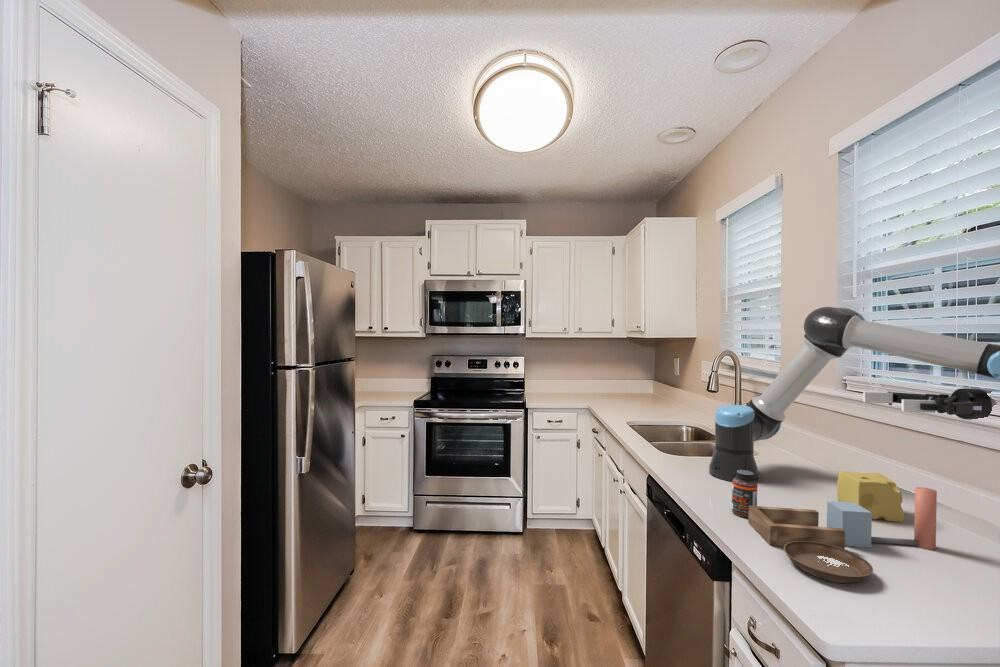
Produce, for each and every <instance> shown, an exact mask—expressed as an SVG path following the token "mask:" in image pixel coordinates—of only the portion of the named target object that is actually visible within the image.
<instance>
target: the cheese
mask: <svg viewBox="0 0 1000 667" xmlns="http://www.w3.org/2000/svg"><path fill="white" fill-rule="evenodd" d="M836 481H837V482H836V484H837V485H836V494H837V502H851V503H856V504H858V505H859V506H861V507H863V508H864V509H866V510H868V511H870V512H871V513H872V520H878V519H881V520H885V521H887V522H895V523H903V521H904V518H905V513H904V509H903V507H902V503H903V495H902V492H901V491H900V490H899V488H898V487H897V484H896V482H895V481H894V480H892V479H890V478H889V477H887V476H885V475H884V474H882V473H880V472H854V471H842V470H840V471H839V473H838V476H837V480H836Z"/></svg>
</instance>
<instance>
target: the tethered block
mask: <svg viewBox="0 0 1000 667" xmlns="http://www.w3.org/2000/svg"><path fill="white" fill-rule="evenodd" d="M937 497H938V491H937V490H935V489H933V488H927V487H923V486H915V487H914V522H913V523H914V524H913V526H914V528H913V529H914V530H913V532H914V533H913V536H914V537H913V539H909V538H908V539H907V538H895V537H894V538H893V537H881V536H872V526H873V524H872V522H873V519H872V513H871V512H870V511H868V510H866V509H864V508H863V507H861V506H859V505H858V504H856V503H851V502H838V501H833V500H832V501H830V500H827V502H826V503H827V504H826V506H827V507H826V527H831V528H841V529H843V530H844V531H845V545H847V546H846V547H852V546H857V547H856V548H866V547H867V549H871V548H872V543H875V544H876V543H879V544H893V545H894V544H895V545H906V546H916V547H918V548H921V549H924V550H927V549H928V551H935V549H936V550H937V507H938V506H937V504H938V503H937V502H938V501H937V500H938V498H937Z"/></svg>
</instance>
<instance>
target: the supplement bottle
mask: <svg viewBox="0 0 1000 667" xmlns="http://www.w3.org/2000/svg"><path fill="white" fill-rule="evenodd" d="M753 478H754V474H753V473H752V472H750V471H746V470H738V471H737V477H736V478H734V479H733V481H731V482H732V486H731V512H732V513H733V514H734V515H736V516H739V517H742V518H745V517H746V519H749V506H758V482H757V481H756V482H755V481H754V480H753Z"/></svg>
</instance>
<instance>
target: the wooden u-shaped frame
mask: <svg viewBox="0 0 1000 667" xmlns="http://www.w3.org/2000/svg"><path fill="white" fill-rule="evenodd" d="M819 515H820V514H819V511H818V510H816V509H804V508H793V507H792V508H790V507H778V506H777V507H775V506H761V505H757V506H749V518H748V520H747V521H748V524H749V525H750V527H752V529H753V530H754V531H755V532H756V533H757V532H758V533H759V534H760V535H761V536H760V535H759V534H758V533H757V534H758V535H759V536H760V537H761V538H762V539H763V540H764V541H765V543H767V544H768V545H769V546H773V547H784V546H785V544H787V543H789V542H794V541H810V542H818V543H823V544H828V545H832V546H835V547H838V548H841V549H844V550H846V546H845V531H844V530H843V529H841V528H831V527H827V526H819V517H820V516H819Z"/></svg>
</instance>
